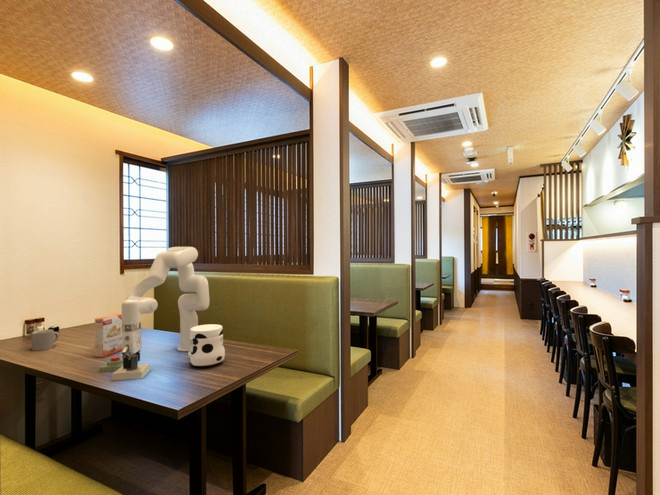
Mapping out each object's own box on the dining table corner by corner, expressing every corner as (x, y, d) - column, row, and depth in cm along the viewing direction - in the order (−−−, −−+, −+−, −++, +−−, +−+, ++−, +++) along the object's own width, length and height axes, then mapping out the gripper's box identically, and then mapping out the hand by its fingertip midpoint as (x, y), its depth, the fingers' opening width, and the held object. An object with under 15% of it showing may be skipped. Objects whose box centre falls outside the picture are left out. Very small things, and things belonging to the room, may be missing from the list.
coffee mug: (35, 351, 193) (35, 334, 194) (28, 349, 199) (28, 332, 199) (63, 345, 205) (63, 329, 205) (56, 343, 210) (56, 327, 210)
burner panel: (150, 370, 160) (149, 363, 160) (142, 378, 150) (141, 371, 150) (122, 372, 158) (122, 365, 158) (112, 380, 148) (112, 373, 148)
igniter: (129, 364, 168) (129, 356, 168) (122, 370, 160) (122, 362, 160) (107, 366, 167) (107, 358, 167) (99, 372, 159) (99, 363, 159)
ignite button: (120, 359, 166) (120, 355, 166) (117, 361, 162) (117, 358, 162) (112, 359, 165) (112, 356, 165) (109, 362, 161) (109, 358, 161)
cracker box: (103, 357, 180) (103, 318, 180) (94, 357, 181) (93, 318, 182) (124, 350, 194) (124, 313, 194) (115, 349, 195) (115, 313, 195)
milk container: (231, 359, 174) (231, 324, 174) (212, 371, 157) (212, 332, 158) (201, 357, 178) (201, 323, 178) (180, 368, 161) (179, 331, 162)
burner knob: (128, 367, 156) (128, 353, 156) (139, 366, 157) (139, 352, 157) (123, 370, 151) (123, 356, 151) (135, 370, 152) (135, 356, 152)
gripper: (132, 331, 146) (133, 370, 146) (147, 322, 163) (147, 358, 163) (113, 332, 145) (114, 372, 145) (130, 323, 162) (130, 359, 162)
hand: (131, 364), depth 154 cm, fingers open, 9 cm apart
